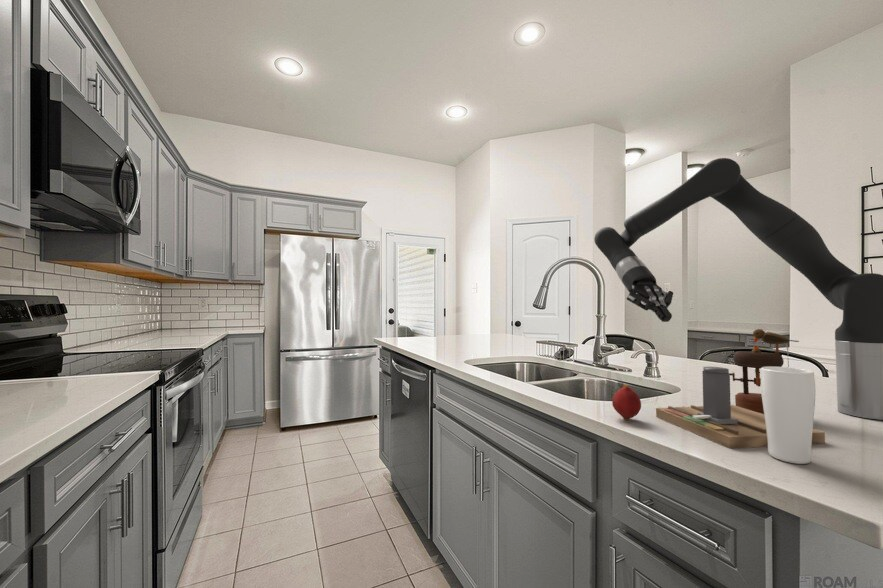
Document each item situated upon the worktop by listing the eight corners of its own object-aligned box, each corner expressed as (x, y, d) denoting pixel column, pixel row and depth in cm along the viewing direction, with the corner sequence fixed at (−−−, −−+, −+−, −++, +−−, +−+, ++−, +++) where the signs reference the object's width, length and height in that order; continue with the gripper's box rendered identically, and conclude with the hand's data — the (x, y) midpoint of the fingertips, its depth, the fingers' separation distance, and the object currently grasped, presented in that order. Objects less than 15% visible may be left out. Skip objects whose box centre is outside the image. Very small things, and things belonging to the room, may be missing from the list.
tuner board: (733, 413, 88) (732, 402, 88) (825, 443, 69) (824, 429, 69) (656, 416, 85) (655, 405, 86) (729, 448, 67) (729, 433, 67)
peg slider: (716, 416, 78) (714, 366, 79) (737, 423, 73) (736, 370, 74) (684, 417, 77) (683, 366, 78) (704, 425, 73) (703, 371, 73)
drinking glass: (760, 458, 62) (758, 369, 63) (764, 447, 67) (762, 364, 67) (817, 471, 57) (814, 374, 58) (817, 458, 62) (814, 369, 63)
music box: (794, 411, 90) (791, 329, 90) (810, 423, 80) (807, 332, 81) (716, 403, 97) (714, 327, 98) (723, 413, 88) (720, 329, 89)
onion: (628, 414, 87) (627, 380, 87) (647, 422, 81) (646, 386, 82) (607, 416, 86) (606, 382, 86) (625, 424, 80) (624, 387, 80)
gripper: (618, 265, 102) (650, 309, 89) (662, 265, 103) (699, 308, 91) (607, 285, 107) (636, 330, 94) (649, 285, 108) (683, 329, 96)
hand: (667, 319), depth 93 cm, fingers closed
